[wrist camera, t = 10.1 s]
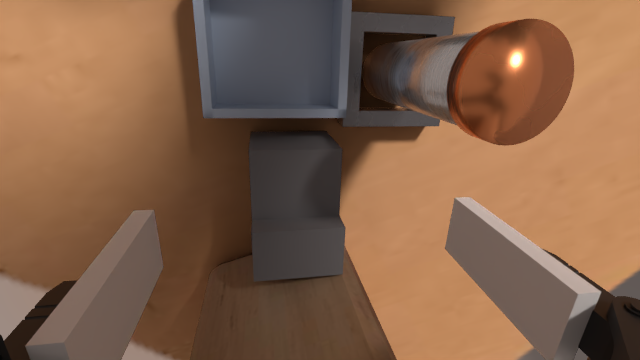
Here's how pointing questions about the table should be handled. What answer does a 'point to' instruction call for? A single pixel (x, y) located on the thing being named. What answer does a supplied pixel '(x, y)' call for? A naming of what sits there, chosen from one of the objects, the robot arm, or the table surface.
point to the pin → (479, 78)
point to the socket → (359, 26)
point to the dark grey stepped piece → (295, 205)
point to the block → (287, 317)
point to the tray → (273, 57)
